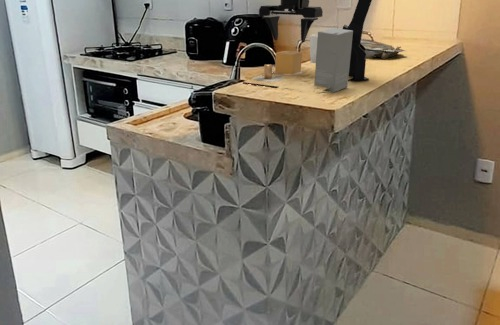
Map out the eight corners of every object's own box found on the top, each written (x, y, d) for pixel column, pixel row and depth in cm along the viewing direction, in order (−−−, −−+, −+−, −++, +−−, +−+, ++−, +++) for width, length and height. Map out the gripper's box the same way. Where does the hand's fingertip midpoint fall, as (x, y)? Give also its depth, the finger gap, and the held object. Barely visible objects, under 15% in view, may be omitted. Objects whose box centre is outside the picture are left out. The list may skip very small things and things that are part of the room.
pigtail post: (273, 78, 142) (273, 64, 141) (269, 79, 140) (269, 65, 139) (266, 77, 143) (266, 64, 142) (262, 79, 141) (262, 65, 140)
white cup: (330, 66, 168) (332, 36, 165) (307, 65, 170) (309, 36, 166) (331, 62, 175) (333, 34, 172) (309, 62, 177) (311, 33, 173)
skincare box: (328, 84, 140) (331, 27, 134) (350, 88, 135) (355, 29, 130) (312, 89, 133) (314, 30, 128) (335, 93, 129) (339, 31, 124)
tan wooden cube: (300, 71, 152) (301, 52, 150) (292, 74, 147) (292, 54, 145) (284, 69, 155) (284, 50, 153) (275, 72, 150) (275, 52, 148)
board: (311, 75, 153) (311, 71, 152) (276, 88, 135) (276, 83, 135) (280, 72, 158) (280, 68, 158) (242, 83, 141) (242, 79, 140)
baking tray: (414, 56, 194) (415, 42, 192) (393, 62, 178) (395, 47, 176) (345, 49, 211) (346, 36, 209) (320, 54, 194) (321, 40, 192)
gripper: (331, -14, 144) (328, 40, 149) (276, -15, 153) (275, 36, 159) (315, -14, 135) (312, 44, 141) (257, -14, 145) (257, 40, 150)
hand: (289, 41), depth 148 cm, fingers open, 9 cm apart
